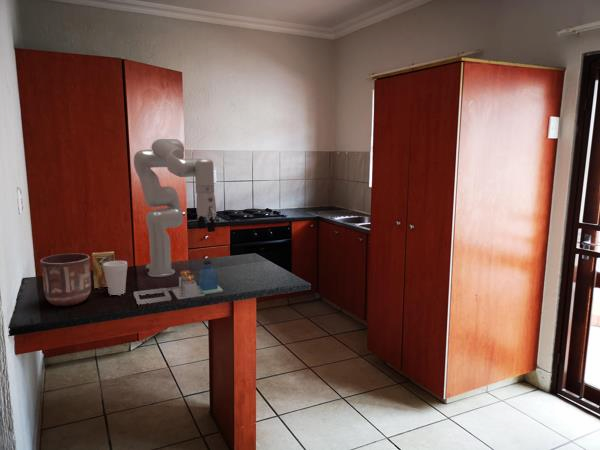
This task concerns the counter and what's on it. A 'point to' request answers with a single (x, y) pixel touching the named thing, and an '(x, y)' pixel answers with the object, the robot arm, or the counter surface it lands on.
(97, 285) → the candy box
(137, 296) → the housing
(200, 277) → the perfume bottle
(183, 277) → the plunger
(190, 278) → the plunger
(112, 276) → the foam cup
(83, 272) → the pottery
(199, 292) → the mat
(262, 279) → the counter surface
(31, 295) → the counter surface
